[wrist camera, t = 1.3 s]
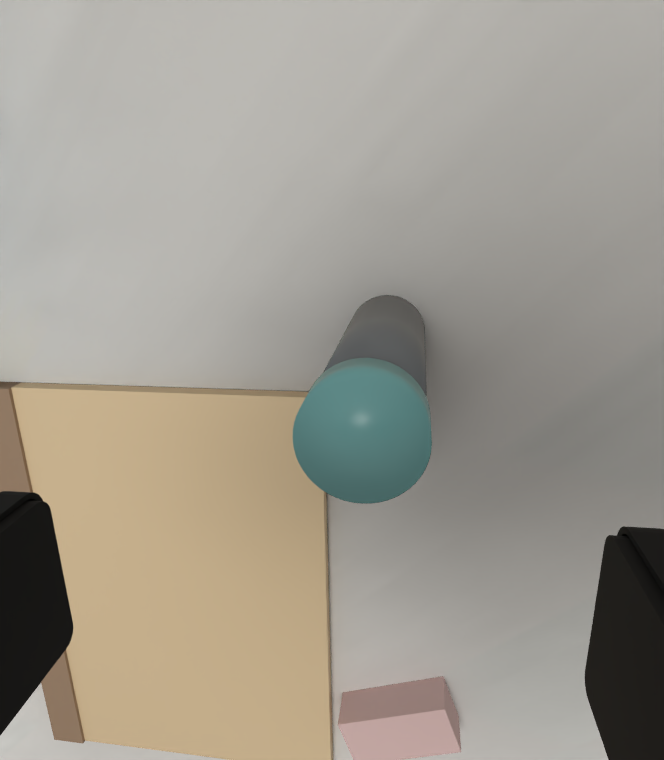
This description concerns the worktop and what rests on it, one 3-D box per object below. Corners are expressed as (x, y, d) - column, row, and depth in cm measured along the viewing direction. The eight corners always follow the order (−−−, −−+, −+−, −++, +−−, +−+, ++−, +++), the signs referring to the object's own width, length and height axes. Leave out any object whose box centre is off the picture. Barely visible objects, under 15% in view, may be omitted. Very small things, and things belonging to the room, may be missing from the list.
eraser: (443, 672, 32) (444, 709, 30) (458, 713, 33) (461, 751, 30) (343, 688, 33) (337, 724, 31) (360, 727, 34) (355, 765, 32)
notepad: (323, 392, 27) (320, 399, 26) (333, 760, 35) (330, 776, 34) (-13, 381, 30) (-27, 387, 29) (63, 725, 37) (54, 739, 36)
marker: (428, 293, 25) (434, 377, 14) (425, 371, 26) (429, 507, 15) (347, 292, 26) (289, 373, 14) (348, 368, 27) (294, 499, 15)
